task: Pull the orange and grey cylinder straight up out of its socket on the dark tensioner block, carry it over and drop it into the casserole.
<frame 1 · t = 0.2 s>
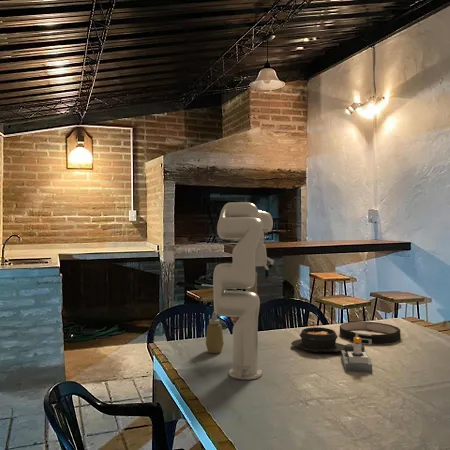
hand: (256, 278, 219), 31 cm above the table, fingers open, 9 cm apart
belt: (369, 337, 230), on the table
casserole: (318, 349, 208), on the table
squeeze bottle: (214, 352, 206), on the table
orange and grey cylinder: (357, 360, 181), point 3 cm above the table, touching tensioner
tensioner: (355, 364, 186), on the table
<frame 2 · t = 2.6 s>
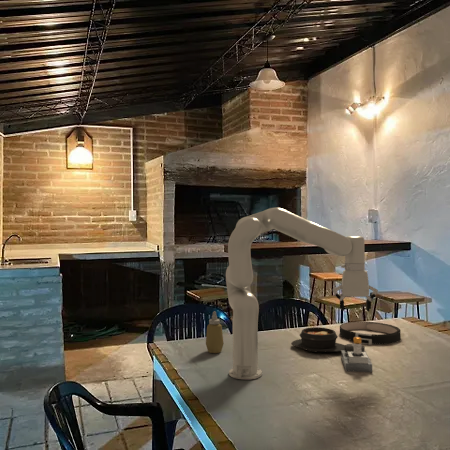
hand: (355, 310, 182), 23 cm above the table, fingers open, 9 cm apart
nothing on the table moved.
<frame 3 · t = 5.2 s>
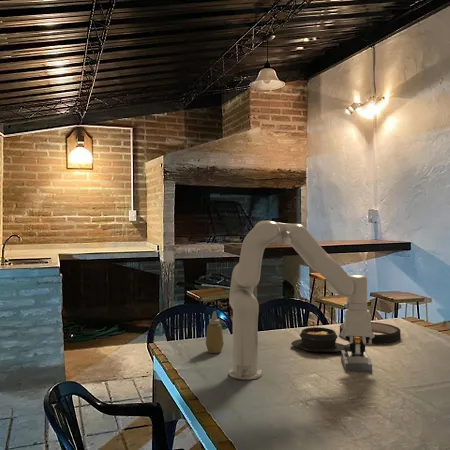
hand: (357, 352, 181), 6 cm above the table, fingers closed on orange and grey cylinder, 3 cm apart
orange and grey cylinder: (357, 360, 181), point 3 cm above the table, touching gripper, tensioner
everything else where it was.
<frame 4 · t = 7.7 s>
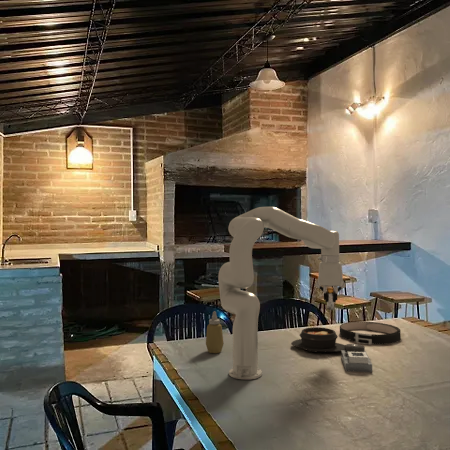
hand: (330, 301, 199), 23 cm above the table, fingers closed on orange and grey cylinder, 3 cm apart
orange and grey cylinder: (330, 308, 199), point 20 cm above the table, touching gripper
everything else where it was.
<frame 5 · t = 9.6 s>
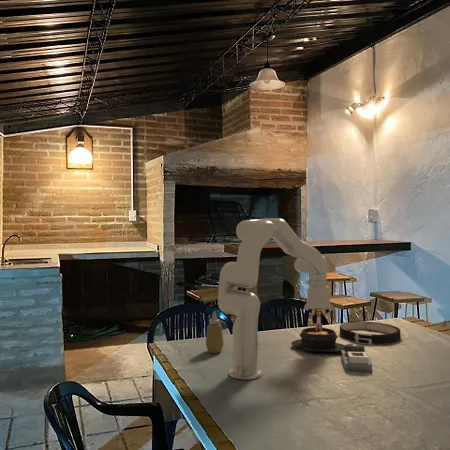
hand: (318, 323, 208), 12 cm above the table, fingers closed on orange and grey cylinder, 3 cm apart
orange and grey cylinder: (318, 330, 208), point 9 cm above the table, touching gripper
everything else where it was.
when the fingers open (10 cm above the table, at t = 10.6 s): orange and grey cylinder stays where it is, resting on casserole.
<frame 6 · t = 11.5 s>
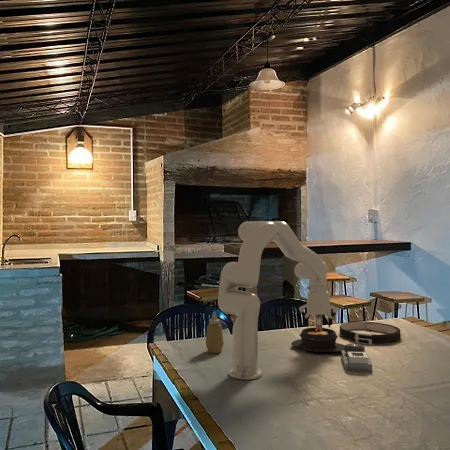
hand: (318, 326, 208), 10 cm above the table, fingers open, 9 cm apart
casserole: (318, 349, 208), on the table, touching orange and grey cylinder
orange and grey cylinder: (319, 330, 208), point 8 cm above the table, touching casserole
everything else where it was.
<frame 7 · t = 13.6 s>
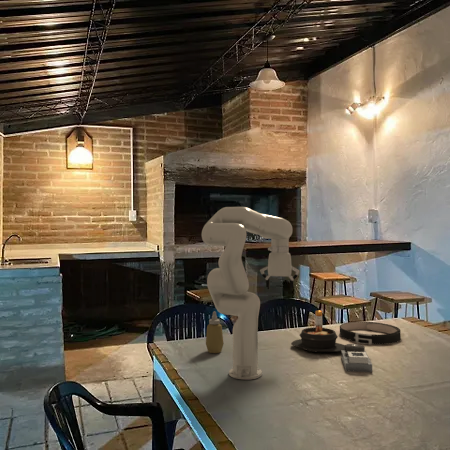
hand: (279, 289, 201), 28 cm above the table, fingers open, 9 cm apart
nothing on the table moved.
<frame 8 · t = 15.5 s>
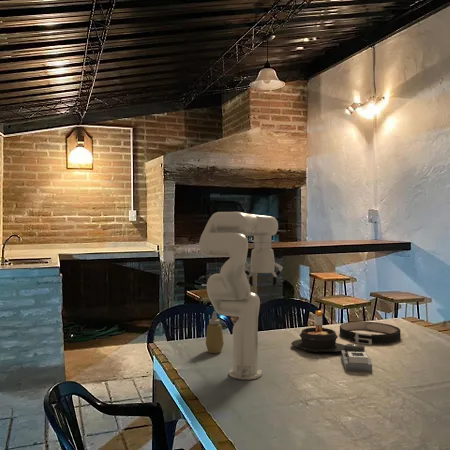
hand: (262, 285, 199), 30 cm above the table, fingers open, 9 cm apart
nothing on the table moved.
at the end: orange and grey cylinder inside the target area in the casserole (0.4 cm from its centre), point 8.6 cm above the casserole's base; the gripper is holding nothing; orange and grey cylinder moved 29.2 cm from its start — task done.
